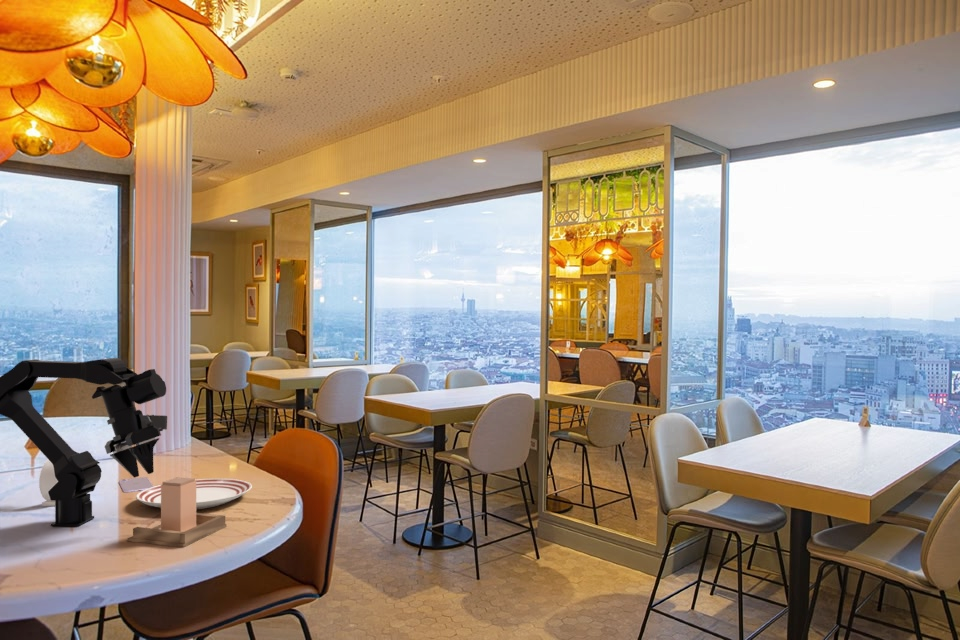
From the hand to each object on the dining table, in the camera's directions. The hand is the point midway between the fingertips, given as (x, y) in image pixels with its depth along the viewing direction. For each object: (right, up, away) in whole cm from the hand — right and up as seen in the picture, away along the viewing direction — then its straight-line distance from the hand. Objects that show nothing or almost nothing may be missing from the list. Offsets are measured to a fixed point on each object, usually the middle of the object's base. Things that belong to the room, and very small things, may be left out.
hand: (143, 475), depth 152 cm
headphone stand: (-30, -11, +16) cm, 36 cm away
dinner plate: (+4, -12, +19) cm, 23 cm away
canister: (+11, -11, -7) cm, 17 cm away
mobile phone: (-20, -12, +35) cm, 42 cm away
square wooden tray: (+11, -11, -7) cm, 17 cm away
